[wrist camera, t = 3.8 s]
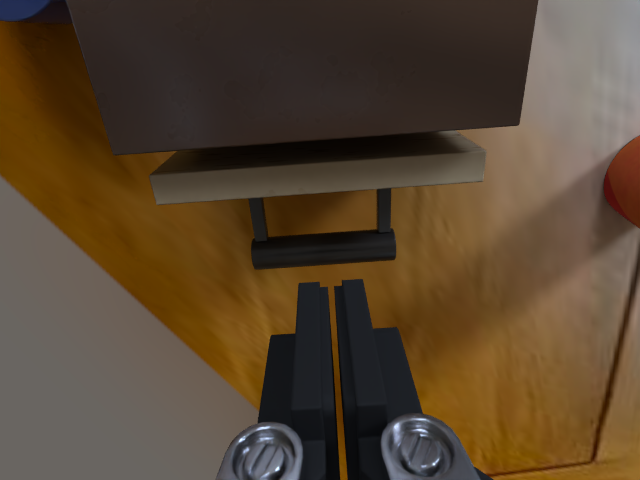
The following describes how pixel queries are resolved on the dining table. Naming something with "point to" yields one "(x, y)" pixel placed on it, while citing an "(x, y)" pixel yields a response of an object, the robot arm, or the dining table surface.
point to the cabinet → (300, 68)
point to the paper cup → (625, 182)
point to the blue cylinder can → (35, 11)
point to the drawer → (319, 186)
